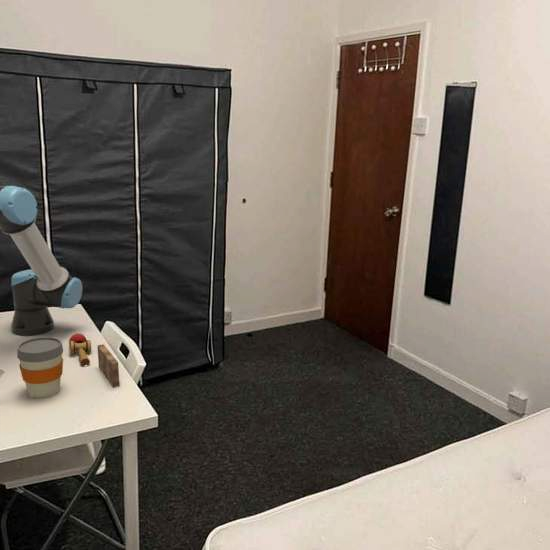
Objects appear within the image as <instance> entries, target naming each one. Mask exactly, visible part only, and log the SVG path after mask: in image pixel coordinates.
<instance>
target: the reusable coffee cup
mask: <svg viewBox="0 0 550 550" xmlns="http://www.w3.org/2000/svg"><path fill="white" fill-rule="evenodd" d="M16 353H17V354H16V355H17V359H18V360H19V365H18V366H19V370H20V374H21V378H22V381H24V383H25V386H26V391H27V394H28V396H29V395H30V396H29V397H31V398H34V397H35V399H43V398H49V397H52V396H54V395H57V394H58V393H59V392H60V390H61V378H62V375H63V369H64V368H63V366H64V358H63V353H64V347H63V343H62V341H61V339H59V338H57V337H51V336H41V337H35V338H34V337H33V338H31V339H27V340H25V341H22V342H20V343H19V344H18V345H17V352H16ZM57 392H58V393H57Z"/></svg>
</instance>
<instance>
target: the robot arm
mask: <svg viewBox="0 0 550 550" xmlns="http://www.w3.org/2000/svg"><path fill="white" fill-rule="evenodd" d="M37 207H38V203H37V200H36V198H35V196H34V194H32V192H31V191H30V190H28V189H26V188H24V187H20V186H16V185H0V231H1V232H2V233H3V234H5V235H9V236H10V237H11V239H12V241H13V242H14V243H15V245H16V247H17V248H18V250H19V252H20V253H21V255H22V256H23V259H25V261H26V262H27V264H28V266H29V267H30V269H26V270H25V269H24V270H21V271H18V272H16V273H13V275H12V276H11V285H10V286H11V292H12V299H13V306H14V307H13V308H14V314H13V317H12V321H11V324H10V325H11V326H10V328H11V332H12V334H15V335H18V336H36V335H40V334H44V333H48V332H51V330H53V329H54V327H55V323H54V319H53V316H52V315H51V312H50V310H49V308H48V307H53V308H59V309H73V308H75V307H77V305H78V304H79V303H80V300H81V298H82V296H83V282H82V280H81V279H80V278H77V277H72V276H71V275H70V272H69V271H68V270H67V268H65V267H63V266H60V265H59V262H58V260H57V259H56V257H55V256H54V254H53V253H52V250H51V249H50V247H49V246H48V243H47V242H46V241H45V238H44V237H43V235H42V233H41V231H40V230H39V228H38V227H37V225H36V223H35V222H36V220H37V214H38V208H37ZM5 372H6V370H5V369H4V367H3V368H2V367H1V366H0V378H1V377H2V376H3V374H5Z"/></svg>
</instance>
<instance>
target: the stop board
mask: <svg viewBox="0 0 550 550" xmlns="http://www.w3.org/2000/svg"><path fill="white" fill-rule="evenodd" d="M96 348H97V361H98V368H99V370H100V372H101V373H102V374H103V375H105V376H104V377H105V379H106V380H107V381H108V382H109V384H110V385H111V387H112V388H117V387H120V372H119V371H120V370H119V362H118V360H117V359H116V358H115V356H114V355H113V354H112V353H111V351H110V350H109V349H108V348H107V347H106V346H105V344H104V343H102V344H97V347H96Z"/></svg>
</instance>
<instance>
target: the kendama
mask: <svg viewBox="0 0 550 550" xmlns="http://www.w3.org/2000/svg"><path fill="white" fill-rule="evenodd" d="M76 352H78V357H79V362H80V365H81V366H83V367H86V366H85V365H87V366H89V365H90V358H89V357H88V354H91V352H92V341H91V340H90V339H87V338H86V336H85V335H84V334H82V333H75V334H73V335H71V336H70V338H69V340H68V353H69V354H71V355H73V354H74V353H76Z"/></svg>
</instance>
